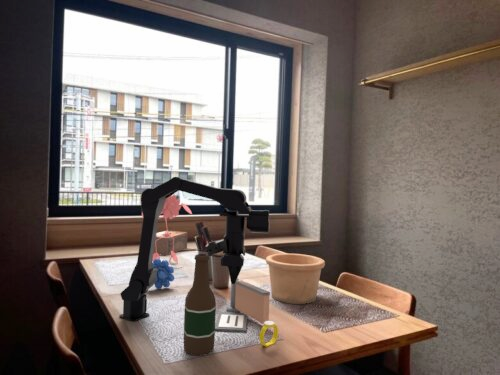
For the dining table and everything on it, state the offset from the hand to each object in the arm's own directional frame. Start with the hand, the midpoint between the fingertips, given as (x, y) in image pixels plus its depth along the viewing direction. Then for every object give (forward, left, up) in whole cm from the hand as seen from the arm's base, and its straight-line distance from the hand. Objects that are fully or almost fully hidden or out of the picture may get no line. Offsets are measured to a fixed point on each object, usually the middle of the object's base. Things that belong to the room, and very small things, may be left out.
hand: (233, 283), depth 113 cm
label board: (+3, +2, -12) cm, 13 cm away
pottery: (+36, -4, -12) cm, 38 cm away
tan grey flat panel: (+6, -2, -11) cm, 12 cm away
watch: (-6, -16, -12) cm, 21 cm away
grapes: (+12, +41, -12) cm, 44 cm away
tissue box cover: (+71, +94, -12) cm, 118 cm away
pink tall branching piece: (+43, +66, -12) cm, 80 cm away
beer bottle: (-19, -3, -12) cm, 23 cm away
